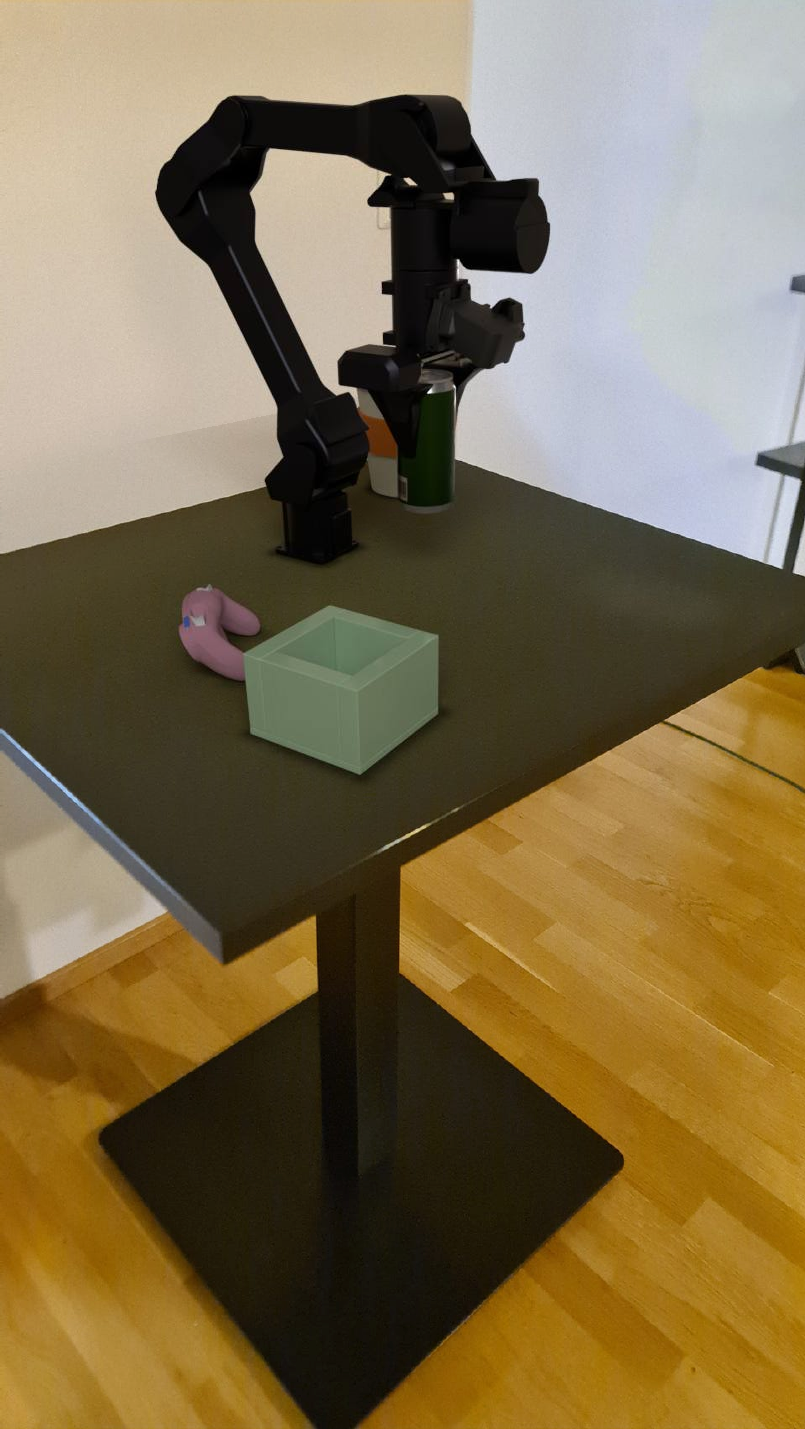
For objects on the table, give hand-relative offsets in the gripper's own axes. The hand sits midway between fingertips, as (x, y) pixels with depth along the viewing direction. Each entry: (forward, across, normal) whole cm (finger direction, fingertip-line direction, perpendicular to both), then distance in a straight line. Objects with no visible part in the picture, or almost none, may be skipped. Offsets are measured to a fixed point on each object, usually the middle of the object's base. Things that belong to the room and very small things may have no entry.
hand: (425, 450), depth 94 cm
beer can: (+5, 0, 0) cm, 5 cm away
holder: (+12, -27, -10) cm, 32 cm away
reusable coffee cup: (+12, +23, +17) cm, 31 cm away
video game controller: (+13, -24, +5) cm, 28 cm away
